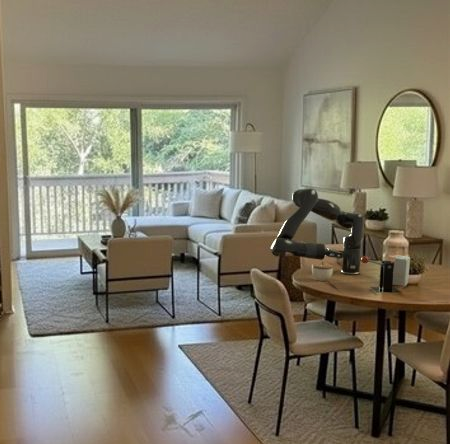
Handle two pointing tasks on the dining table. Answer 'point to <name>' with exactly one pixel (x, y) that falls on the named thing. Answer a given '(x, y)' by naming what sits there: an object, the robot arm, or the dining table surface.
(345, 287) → the dining table surface
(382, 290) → the bracket
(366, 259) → the lever
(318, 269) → the trinket box
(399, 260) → the cosmetic box
